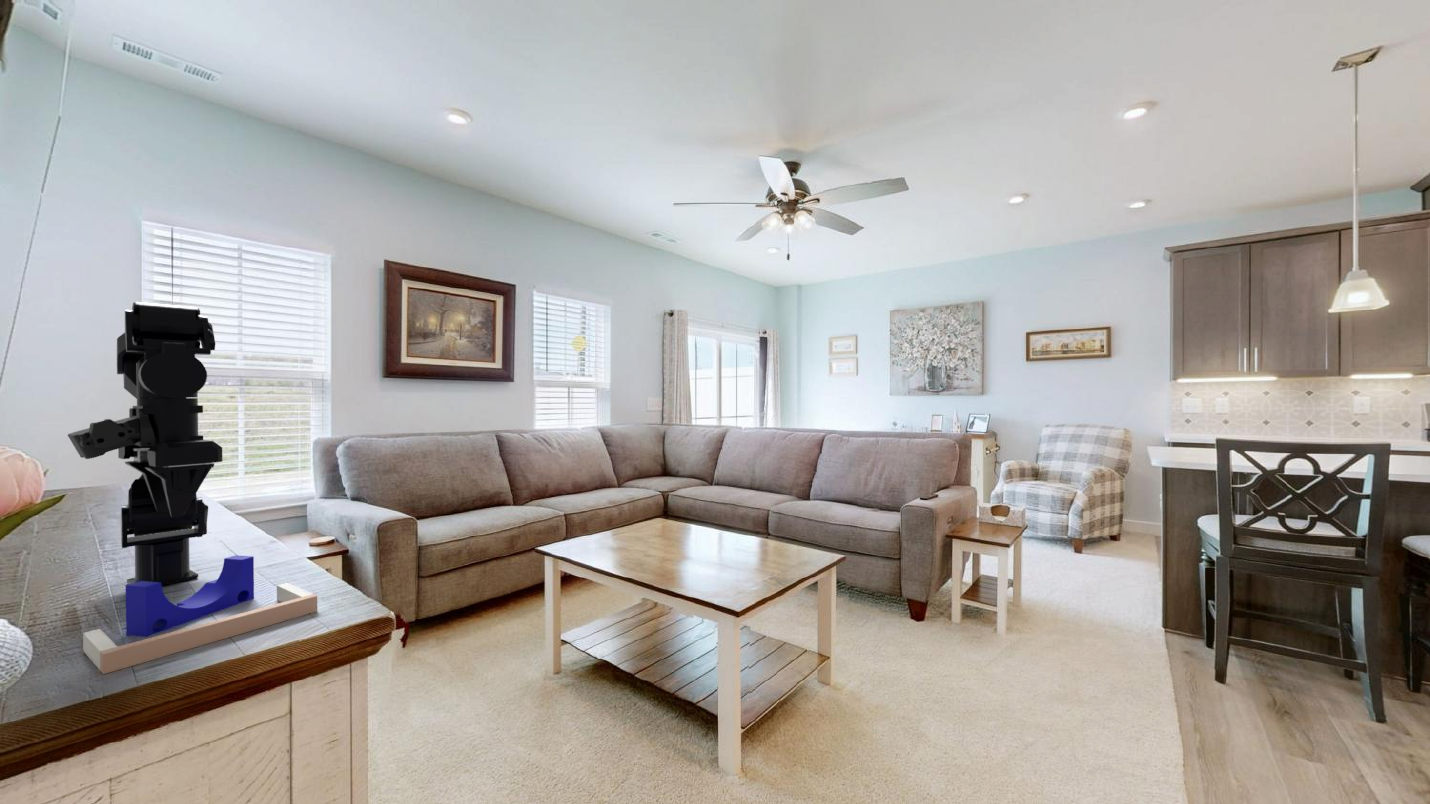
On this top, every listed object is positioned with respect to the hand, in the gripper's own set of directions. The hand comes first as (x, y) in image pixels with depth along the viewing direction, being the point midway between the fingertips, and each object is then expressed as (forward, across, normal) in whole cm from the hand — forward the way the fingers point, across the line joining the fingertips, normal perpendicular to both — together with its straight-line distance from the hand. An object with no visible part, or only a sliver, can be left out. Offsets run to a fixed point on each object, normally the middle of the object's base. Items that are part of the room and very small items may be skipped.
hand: (169, 514), depth 72 cm
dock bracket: (+12, +15, 0) cm, 19 cm away
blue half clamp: (+12, +8, 0) cm, 14 cm away
